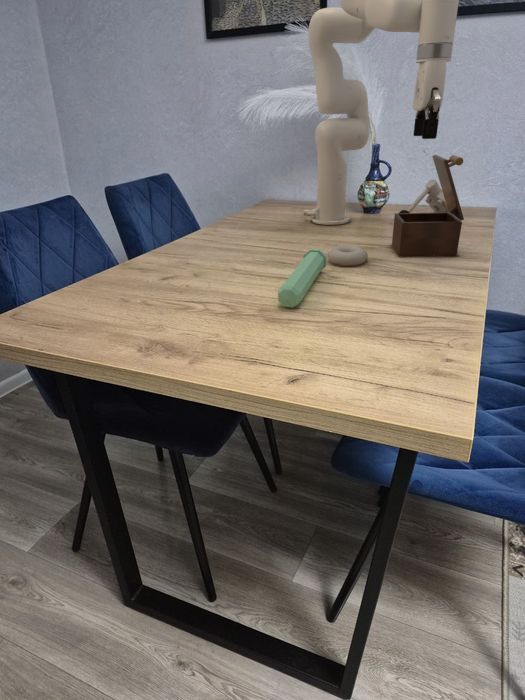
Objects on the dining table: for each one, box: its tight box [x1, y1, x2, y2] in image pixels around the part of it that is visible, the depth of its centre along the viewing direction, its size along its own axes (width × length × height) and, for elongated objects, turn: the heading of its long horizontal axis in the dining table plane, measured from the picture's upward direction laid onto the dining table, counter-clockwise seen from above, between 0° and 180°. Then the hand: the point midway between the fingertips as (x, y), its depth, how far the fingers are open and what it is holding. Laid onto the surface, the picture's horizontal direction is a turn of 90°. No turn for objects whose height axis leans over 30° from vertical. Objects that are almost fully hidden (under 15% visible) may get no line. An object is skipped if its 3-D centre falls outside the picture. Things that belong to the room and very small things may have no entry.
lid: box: [431, 154, 465, 222], centre depth 119 cm, size 15×12×5 cm
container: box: [277, 248, 327, 308], centre depth 103 cm, size 6×6×25 cm
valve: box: [398, 179, 453, 215], centre depth 158 cm, size 10×20×15 cm
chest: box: [391, 212, 463, 258], centre depth 125 cm, size 15×12×9 cm
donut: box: [327, 244, 368, 267], centre depth 120 cm, size 10×4×10 cm
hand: (424, 137), depth 115 cm, fingers open, 9 cm apart
